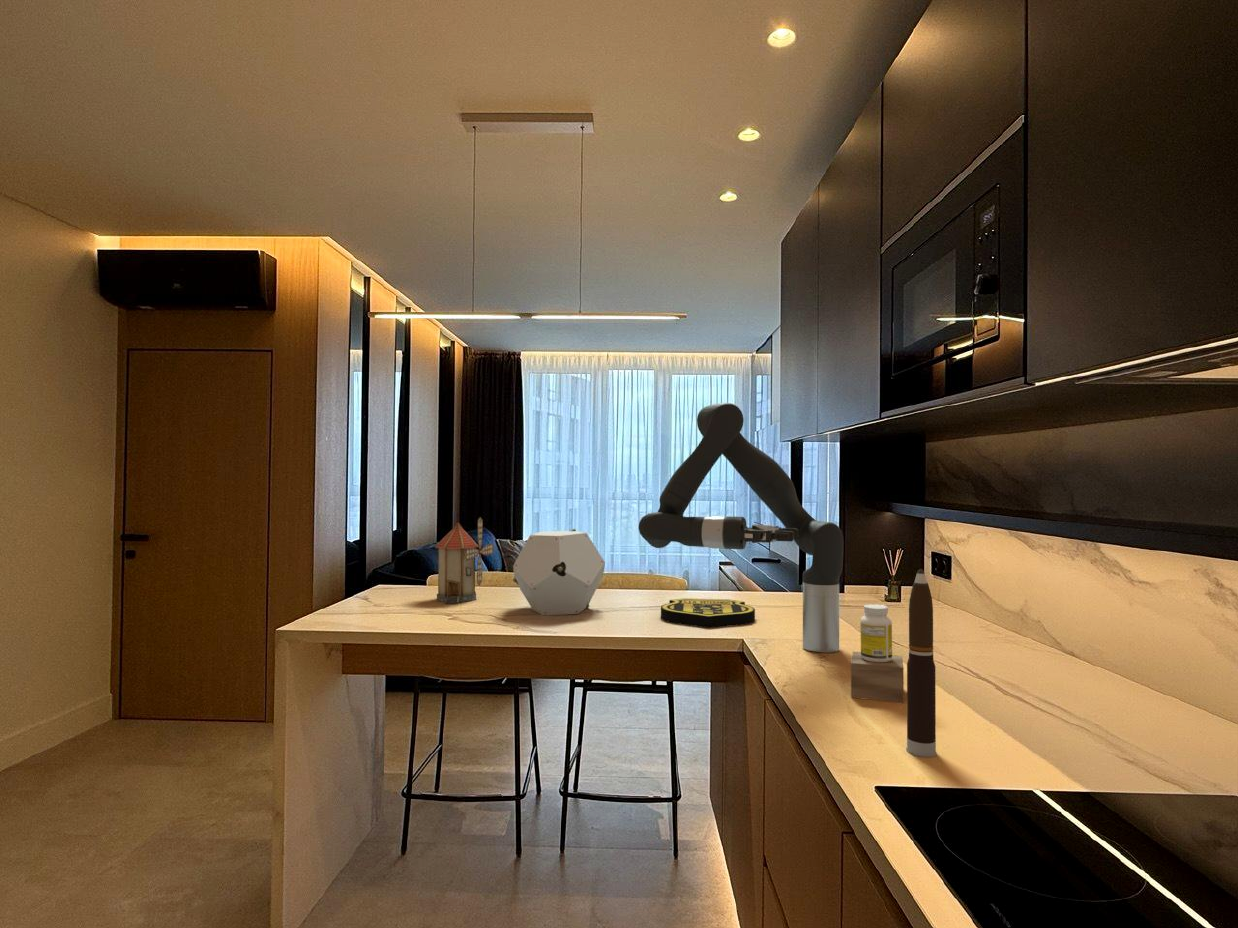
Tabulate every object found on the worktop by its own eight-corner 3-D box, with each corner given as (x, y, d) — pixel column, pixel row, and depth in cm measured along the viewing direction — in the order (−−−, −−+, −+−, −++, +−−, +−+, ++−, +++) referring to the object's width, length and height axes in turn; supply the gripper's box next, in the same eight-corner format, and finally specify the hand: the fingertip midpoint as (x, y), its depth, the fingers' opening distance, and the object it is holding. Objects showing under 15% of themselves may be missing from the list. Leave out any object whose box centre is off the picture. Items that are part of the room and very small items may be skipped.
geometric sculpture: (604, 627, 244) (634, 556, 233) (532, 644, 224) (560, 567, 212) (557, 574, 263) (583, 506, 251) (487, 585, 243) (511, 512, 231)
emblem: (658, 615, 213) (663, 597, 243) (658, 627, 213) (663, 608, 243) (758, 617, 210) (750, 599, 240) (758, 630, 210) (750, 611, 240)
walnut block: (852, 683, 155) (852, 651, 155) (902, 688, 151) (902, 655, 152) (850, 697, 146) (850, 662, 146) (903, 702, 142) (903, 667, 142)
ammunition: (929, 746, 119) (929, 567, 120) (941, 757, 115) (940, 570, 115) (902, 746, 119) (901, 566, 120) (912, 756, 115) (911, 570, 115)
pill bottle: (877, 654, 153) (876, 602, 153) (898, 661, 147) (898, 607, 147) (854, 657, 150) (853, 604, 150) (875, 664, 144) (875, 609, 145)
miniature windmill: (482, 606, 244) (483, 518, 245) (425, 606, 244) (426, 518, 245) (493, 594, 269) (494, 514, 269) (441, 594, 268) (442, 514, 269)
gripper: (717, 518, 159) (792, 519, 153) (730, 514, 172) (799, 516, 166) (717, 551, 158) (792, 554, 153) (730, 545, 172) (799, 548, 166)
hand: (795, 534), depth 160 cm, fingers open, 8 cm apart
